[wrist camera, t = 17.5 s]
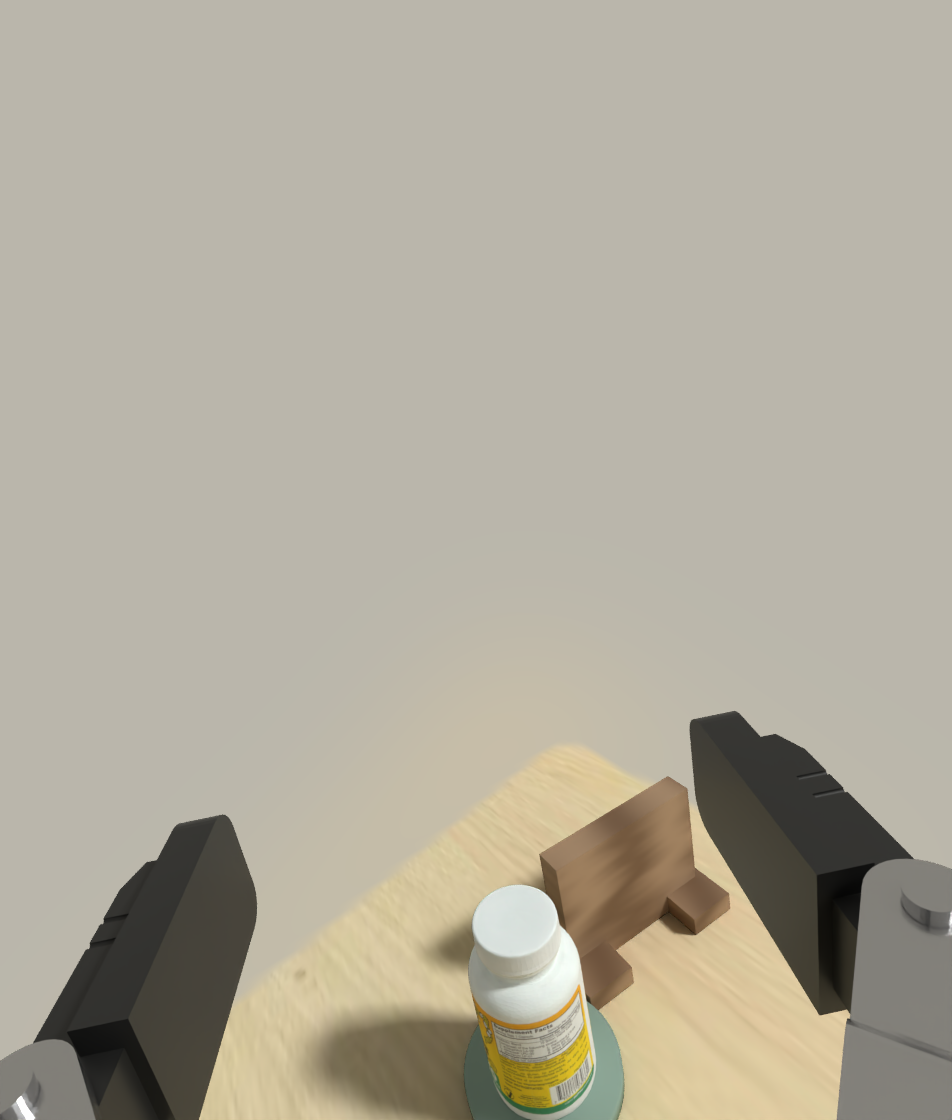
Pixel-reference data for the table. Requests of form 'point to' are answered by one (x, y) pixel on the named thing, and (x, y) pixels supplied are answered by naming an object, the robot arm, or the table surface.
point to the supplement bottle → (531, 1004)
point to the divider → (628, 883)
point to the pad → (592, 1116)
